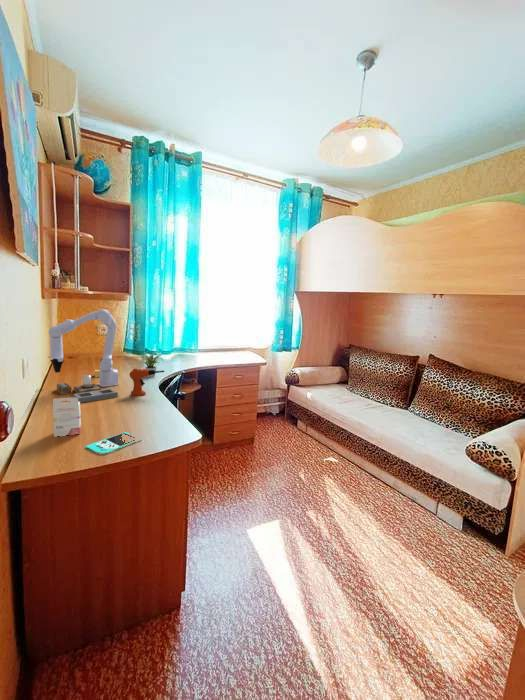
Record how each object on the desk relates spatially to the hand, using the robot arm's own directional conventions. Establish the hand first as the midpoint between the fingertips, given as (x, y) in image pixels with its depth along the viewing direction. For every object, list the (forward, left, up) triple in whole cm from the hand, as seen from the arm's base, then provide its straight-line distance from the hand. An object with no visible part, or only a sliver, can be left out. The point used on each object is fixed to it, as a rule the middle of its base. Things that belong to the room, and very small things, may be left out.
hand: (57, 372), depth 176 cm
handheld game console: (+4, +88, -9) cm, 88 cm away
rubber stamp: (-28, -12, -9) cm, 32 cm away
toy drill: (-32, +40, -8) cm, 52 cm away
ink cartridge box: (+14, +69, -9) cm, 71 cm away
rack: (-9, +31, -8) cm, 33 cm away
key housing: (0, +12, -8) cm, 14 cm away
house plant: (-53, +5, -8) cm, 54 cm away
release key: (0, +10, -7) cm, 12 cm away
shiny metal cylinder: (-9, +18, -8) cm, 22 cm away
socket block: (-9, +18, -8) cm, 22 cm away
